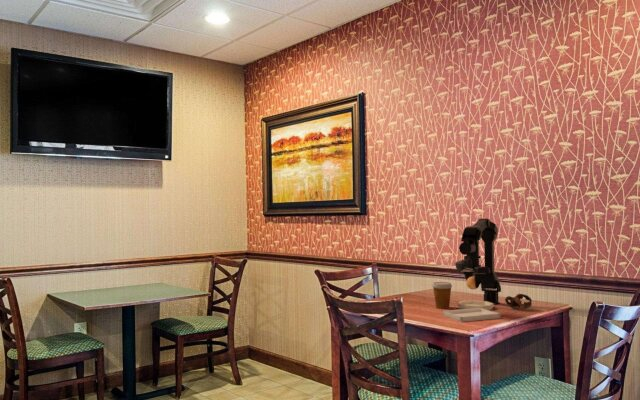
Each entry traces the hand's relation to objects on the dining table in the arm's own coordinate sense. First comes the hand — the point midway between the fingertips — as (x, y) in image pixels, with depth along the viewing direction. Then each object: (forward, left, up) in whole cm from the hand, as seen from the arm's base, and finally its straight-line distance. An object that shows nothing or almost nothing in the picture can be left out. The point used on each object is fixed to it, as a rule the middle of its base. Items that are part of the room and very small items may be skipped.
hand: (473, 287), depth 253 cm
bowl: (-7, -10, -12) cm, 17 cm away
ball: (0, 0, +2) cm, 2 cm away
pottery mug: (-24, +1, -12) cm, 27 cm away
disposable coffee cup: (+7, -17, -12) cm, 22 cm away
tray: (+7, +8, -12) cm, 16 cm away
